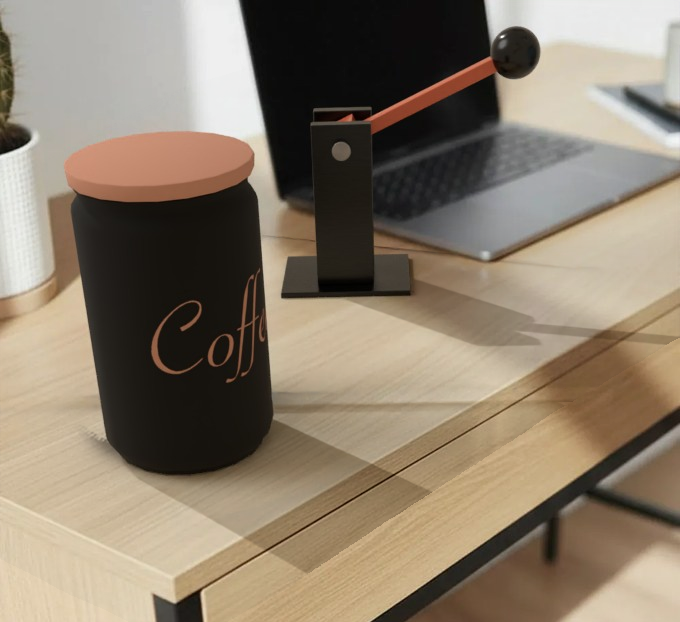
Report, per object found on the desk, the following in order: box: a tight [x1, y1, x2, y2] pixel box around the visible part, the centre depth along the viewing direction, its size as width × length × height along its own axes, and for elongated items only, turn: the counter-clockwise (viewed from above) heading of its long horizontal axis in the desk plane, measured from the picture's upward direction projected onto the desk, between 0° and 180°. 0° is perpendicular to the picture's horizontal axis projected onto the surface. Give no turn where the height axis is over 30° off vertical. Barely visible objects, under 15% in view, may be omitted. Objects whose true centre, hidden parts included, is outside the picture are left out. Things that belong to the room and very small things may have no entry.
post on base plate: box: [280, 106, 411, 299], centre depth 93 cm, size 10×8×14 cm
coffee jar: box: [63, 130, 274, 476], centre depth 72 cm, size 11×11×18 cm
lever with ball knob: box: [337, 25, 542, 136], centre depth 88 cm, size 17×4×4 cm, turn 89°
